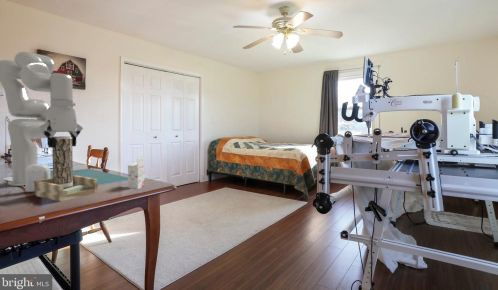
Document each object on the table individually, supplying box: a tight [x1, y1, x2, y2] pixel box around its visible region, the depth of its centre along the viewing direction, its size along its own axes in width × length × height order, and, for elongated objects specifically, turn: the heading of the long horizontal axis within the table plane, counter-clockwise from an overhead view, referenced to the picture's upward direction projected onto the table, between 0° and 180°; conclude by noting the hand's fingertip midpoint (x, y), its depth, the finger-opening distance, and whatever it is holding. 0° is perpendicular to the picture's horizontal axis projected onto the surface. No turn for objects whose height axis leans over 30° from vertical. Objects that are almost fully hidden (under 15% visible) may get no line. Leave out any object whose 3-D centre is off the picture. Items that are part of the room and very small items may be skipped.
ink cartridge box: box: [127, 157, 146, 190], centre depth 128 cm, size 9×5×15 cm, turn 0°
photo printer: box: [24, 163, 52, 193], centre depth 114 cm, size 10×4×12 cm, turn 81°
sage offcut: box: [63, 185, 86, 195], centre depth 108 cm, size 3×10×2 cm, turn 174°
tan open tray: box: [33, 174, 99, 202], centre depth 109 cm, size 16×15×7 cm
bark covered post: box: [52, 135, 74, 190], centre depth 110 cm, size 7×7×25 cm
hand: (62, 146), depth 109 cm, fingers open, 7 cm apart
